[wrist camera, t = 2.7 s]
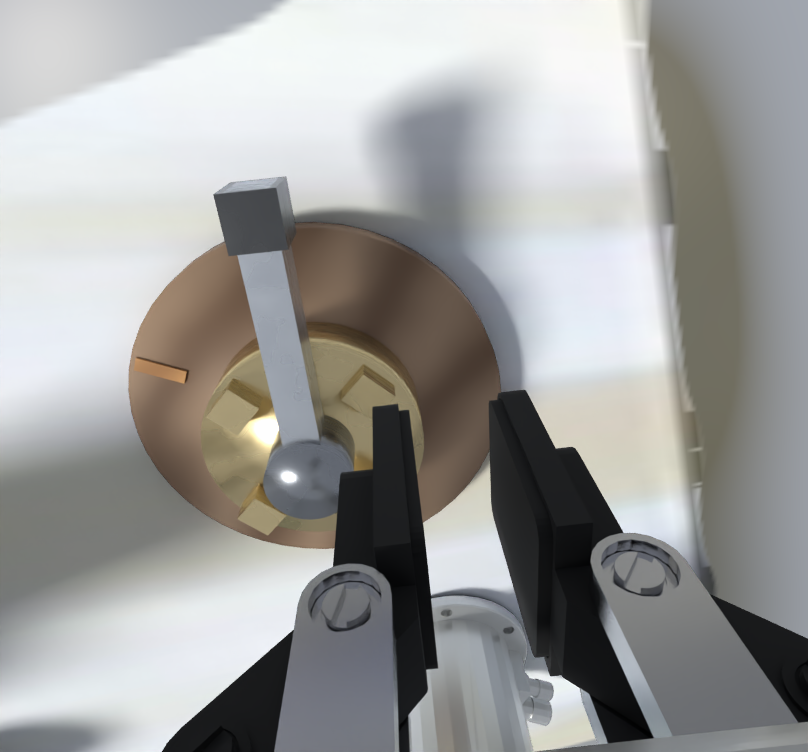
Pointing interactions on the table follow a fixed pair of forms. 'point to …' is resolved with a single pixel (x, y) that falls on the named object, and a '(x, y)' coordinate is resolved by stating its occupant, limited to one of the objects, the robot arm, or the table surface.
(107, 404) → the table surface
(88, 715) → the table surface
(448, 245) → the table surface
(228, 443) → the grey lever
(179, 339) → the lever base
